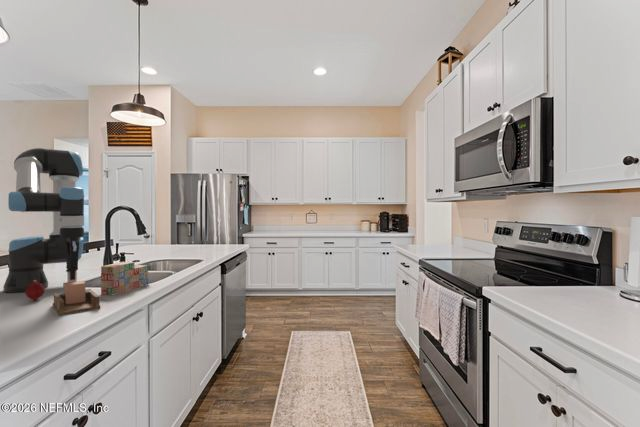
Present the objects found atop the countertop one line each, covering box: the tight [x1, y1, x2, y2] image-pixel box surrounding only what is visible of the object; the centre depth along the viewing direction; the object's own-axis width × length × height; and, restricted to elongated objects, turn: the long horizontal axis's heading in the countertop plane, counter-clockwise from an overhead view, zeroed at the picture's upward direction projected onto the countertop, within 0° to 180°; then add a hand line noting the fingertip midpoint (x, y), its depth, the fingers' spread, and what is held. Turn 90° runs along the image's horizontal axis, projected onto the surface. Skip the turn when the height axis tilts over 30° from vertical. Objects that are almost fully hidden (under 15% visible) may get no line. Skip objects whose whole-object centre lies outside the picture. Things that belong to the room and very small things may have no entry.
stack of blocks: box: [100, 261, 149, 295], centre depth 152 cm, size 21×6×12 cm, turn 169°
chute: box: [52, 288, 101, 317], centre depth 123 cm, size 16×12×4 cm
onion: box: [24, 280, 46, 301], centre depth 131 cm, size 6×6×8 cm
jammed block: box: [62, 280, 87, 305], centre depth 126 cm, size 6×6×7 cm
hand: (72, 287), depth 129 cm, fingers closed
